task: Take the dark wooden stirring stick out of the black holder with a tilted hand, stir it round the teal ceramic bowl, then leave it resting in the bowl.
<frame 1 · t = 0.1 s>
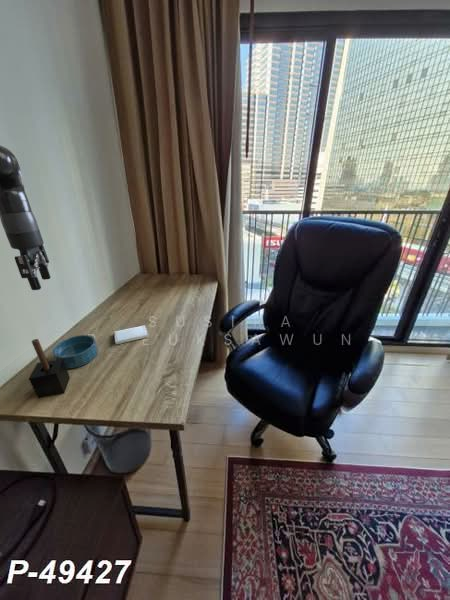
hand: (42, 284, 75), 30 cm above the table, tool pointing down, fingers open, 8 cm apart
holder: (54, 387, 79), on the table
stick: (45, 365, 75), in the holder
hard drive: (131, 336, 104), on the table
bowl: (78, 357, 92), on the table
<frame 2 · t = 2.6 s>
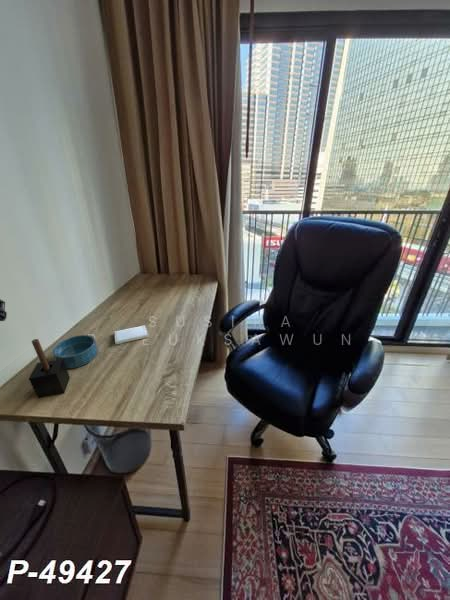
nothing on the table moved.
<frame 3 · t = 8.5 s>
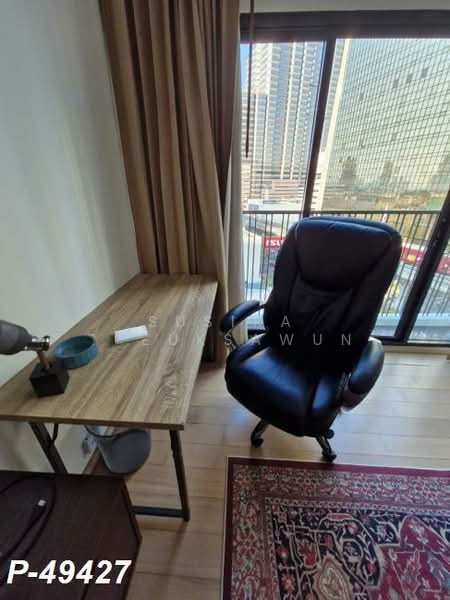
hand: (43, 347, 74), 14 cm above the table, tool tilted 45°, fingers closed on stick, 1 cm apart
stick: (45, 365, 75), in the holder, touching gripper
everything else where it was.
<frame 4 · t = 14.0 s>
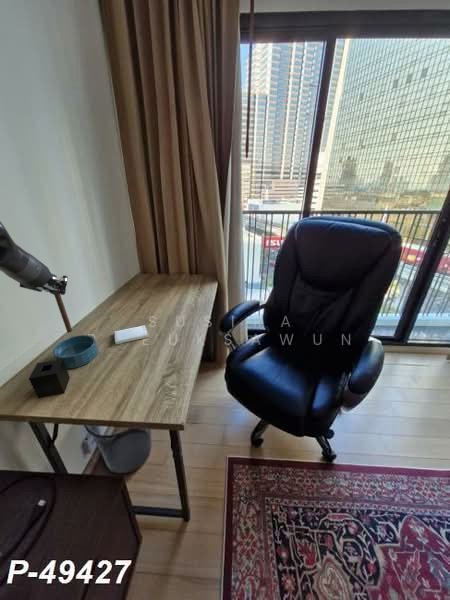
hand: (60, 292, 82), 25 cm above the table, tool tilted 45°, fingers closed on stick, 1 cm apart
stick: (62, 308, 83), point 20 cm above the table, touching gripper
everything else where it was.
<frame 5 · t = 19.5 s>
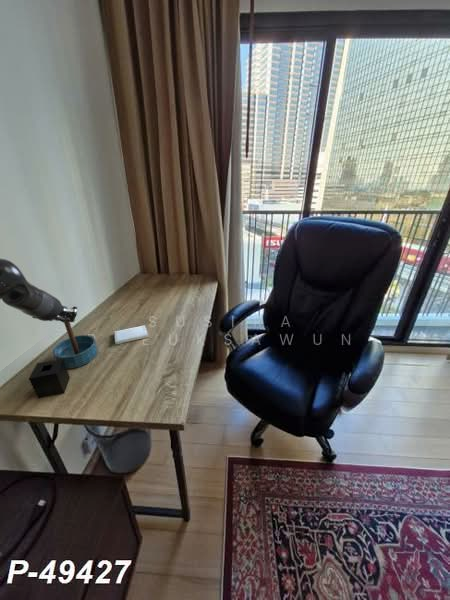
hand: (69, 319, 87), 15 cm above the table, tool tilted 45°, fingers closed on stick, 1 cm apart
stick: (71, 334, 87), in the bowl, point 10 cm above the table, touching gripper
everything else where it was.
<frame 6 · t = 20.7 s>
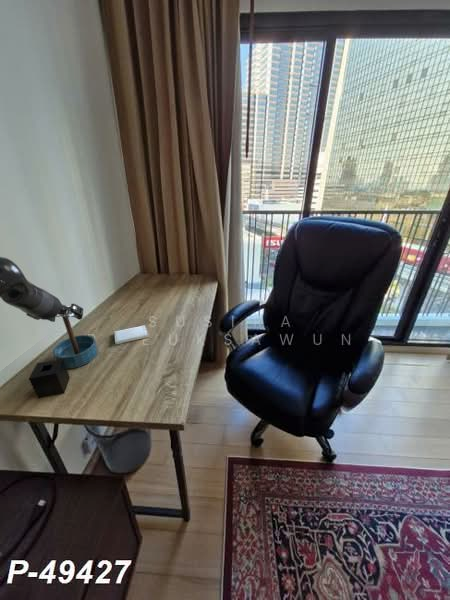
hand: (67, 317, 86), 16 cm above the table, tool tilted 45°, fingers open, 8 cm apart
stick: (71, 335, 87), in the bowl, point 10 cm above the table
everything else where it was.
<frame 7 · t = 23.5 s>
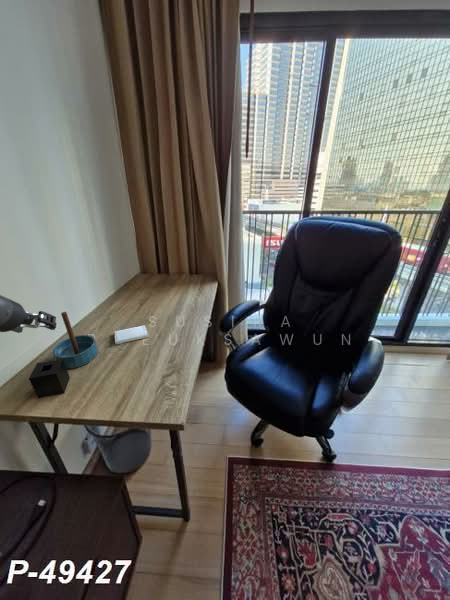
hand: (37, 327, 70), 21 cm above the table, tool tilted 45°, fingers open, 8 cm apart
nothing on the table moved.
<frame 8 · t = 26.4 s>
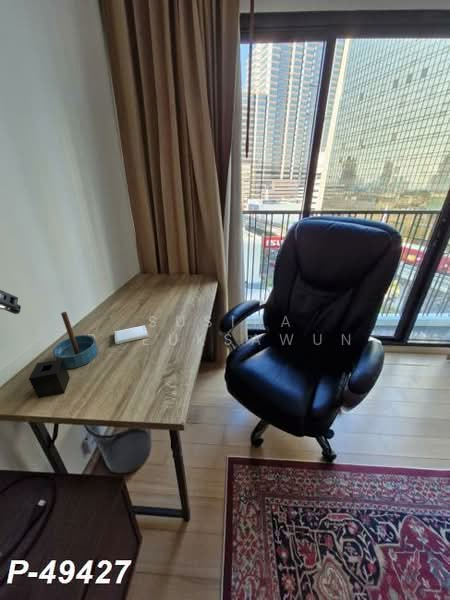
nothing on the table moved.
at the end: stick inside the target area in the bowl (0.1 cm from its centre), point 9.8 cm above the bowl's base; stick moved 14.6 cm from its start; the gripper is holding nothing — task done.
